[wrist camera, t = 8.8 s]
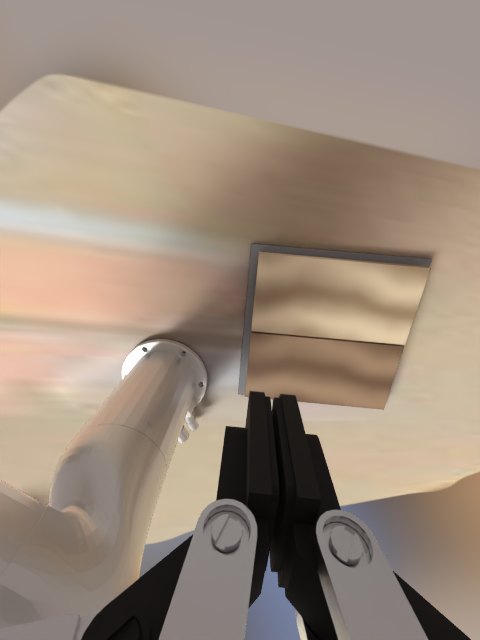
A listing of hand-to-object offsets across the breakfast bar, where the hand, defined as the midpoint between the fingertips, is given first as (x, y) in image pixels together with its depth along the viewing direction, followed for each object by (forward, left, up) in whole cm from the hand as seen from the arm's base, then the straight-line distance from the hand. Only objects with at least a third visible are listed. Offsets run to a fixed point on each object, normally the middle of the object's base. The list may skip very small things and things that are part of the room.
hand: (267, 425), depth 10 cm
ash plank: (-6, -8, -26) cm, 28 cm away
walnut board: (-15, -3, -27) cm, 31 cm away
